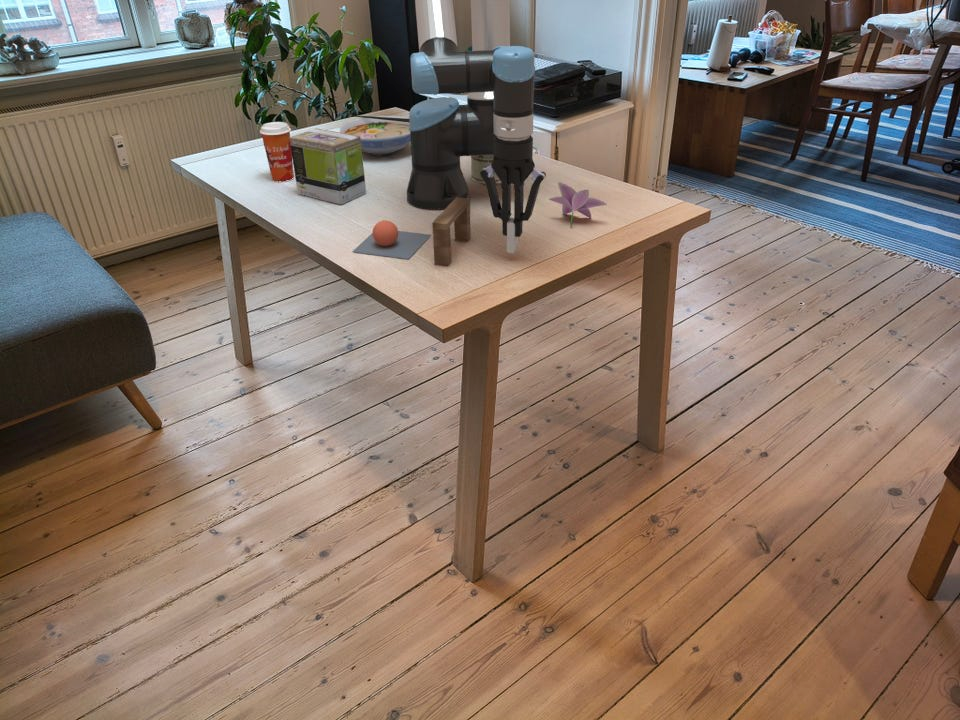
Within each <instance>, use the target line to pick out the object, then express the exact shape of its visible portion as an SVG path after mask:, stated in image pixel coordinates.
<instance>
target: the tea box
mask: <svg viewBox="0 0 960 720" xmlns="http://www.w3.org/2000/svg"><path fill="white" fill-rule="evenodd" d="M289 139H290V146H291V153H292V162H293V173H294V177H295V182H296V184H295V185H296V191H297V194H298V195H300V194H302V195H301V196H304V195H306V196H305V197H308V196H309V198H312V197H313V198H312V199H317V200H320V201H321V200H322V201H326V202H330V203H333V204H334V203H335V204H338V205H343V204H346V203H349V202H351V201H353V200H355V199H357V197H358V198H359V196H360V197H362V196H363V195H366V193H367V191H366V190H367V189H366V188H367V187H366V178H365V169H364V167H365V166H364V158H363V151H362V147H361V139H360V136H358V135H352V134H346V133H341V132H340V131H334V130H327V129H321V128H317V127H316V128H314V129H310V130H307V131H305V132H301V133H299V134H295V135H293V136H290V137H289ZM361 195H362V196H361ZM352 199H353V200H352Z"/></svg>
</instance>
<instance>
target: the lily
mask: <svg viewBox="0 0 960 720" xmlns="http://www.w3.org/2000/svg"><path fill="white" fill-rule="evenodd" d="M557 185H558V188H559V191H560V195H561V196H555V197H553V196H552V197H550V198H548V200H549V201H551V202H554V203H558V204H561V205H562V208H561V209H562V210H561V212H562V214H563V215H567V214H570V213H571V218H570V225H569V229H570V228H571V229H572V225H573V217H574V214H575V212H578V213H580V214H582V215H583V216H585V217H587V218H588V217H589V218H588V219H592V213H591V210H590V208H595V207H602V206H606V205H608V204H607V203H606V202H605V201H602V200H601V199H599V198H598V199H597V198H594V197H592V196H591V197H590V196H589V195H590V190H589V189H583V190H580V191H576V190H575V189H574V188H573V187H572V186H569V185H568V184H565V183H563V182H562V181H561V182H558V184H557Z"/></svg>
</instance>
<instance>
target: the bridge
mask: <svg viewBox="0 0 960 720" xmlns="http://www.w3.org/2000/svg"><path fill="white" fill-rule="evenodd" d="M431 224H432V226H431V227H432V239H433V240H432V243H433V260H434V261H433V262H434V263H433V264H434V266H441V267H449V266H450V265H451V264H452V243H451V240H452V239H451V236H452V235H451V226H452V225H453V228H454V242H455V241H456V242H462V243H464V242H465V243H469V241H470V240H471V239H472V236H471V233H472V232H471V230H472V229H471V200H470V198H469V197H468V198H460V197H456V198H455V199H454V200H453V201H452V202H451V203H450V205H449V206H448V207H447V208H446V209H443V210H442V212H441V213H440V214H439V215H437V217H436V218H435V219H434V220H433V221H432V223H431Z"/></svg>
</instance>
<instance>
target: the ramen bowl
mask: <svg viewBox="0 0 960 720" xmlns="http://www.w3.org/2000/svg"><path fill="white" fill-rule="evenodd" d="M352 117H355V118H354V119H351V120H349V121H346V122H344V123H343V124H341V125H340V126H339V132H340V133H346V134H352V135H358V136H360V139H361V147H362V153H363V152H364V153H368V154H370V155H372V156H379V155H381V156H387V155H391V154H393V153H395V152H397V151H399V150H401V149H404V148H405V147H407V146H409V144H411V139H410V131H409V117H405V116H400V115H376V116H369V115H355V114H354V115H352Z"/></svg>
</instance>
